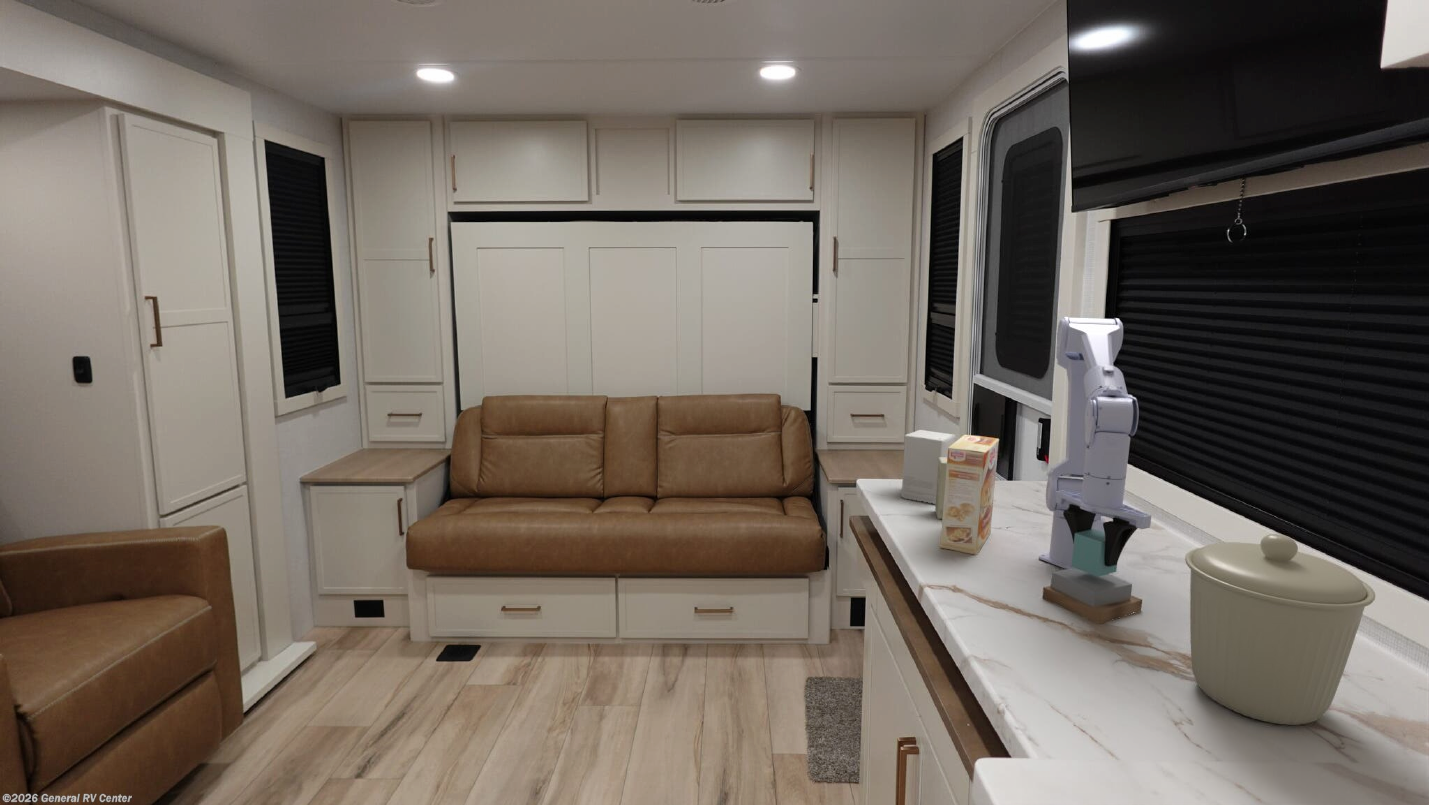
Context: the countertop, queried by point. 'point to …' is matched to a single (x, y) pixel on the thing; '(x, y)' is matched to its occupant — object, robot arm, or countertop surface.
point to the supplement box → (923, 463)
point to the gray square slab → (1091, 587)
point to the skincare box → (940, 486)
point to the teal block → (1091, 553)
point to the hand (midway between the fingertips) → (1095, 559)
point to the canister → (1272, 627)
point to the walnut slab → (1093, 613)
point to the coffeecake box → (969, 493)
